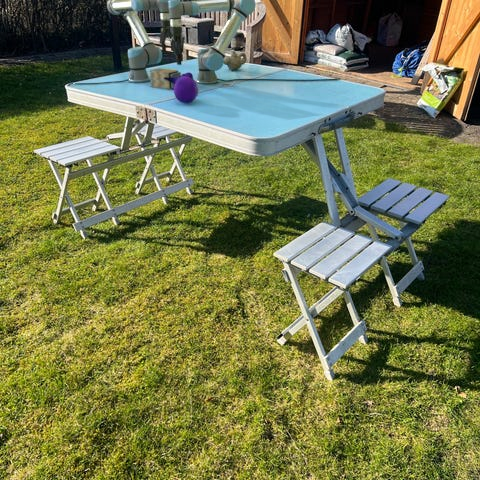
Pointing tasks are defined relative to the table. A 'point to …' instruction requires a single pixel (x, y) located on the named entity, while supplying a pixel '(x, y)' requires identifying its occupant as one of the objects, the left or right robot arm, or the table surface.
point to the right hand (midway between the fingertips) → (179, 64)
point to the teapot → (235, 61)
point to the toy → (184, 87)
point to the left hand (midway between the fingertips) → (168, 52)
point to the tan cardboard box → (160, 78)
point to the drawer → (176, 75)
